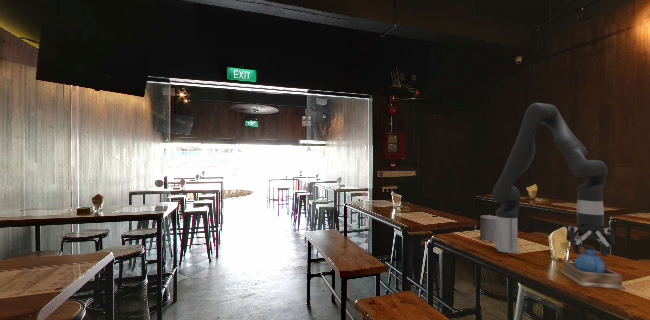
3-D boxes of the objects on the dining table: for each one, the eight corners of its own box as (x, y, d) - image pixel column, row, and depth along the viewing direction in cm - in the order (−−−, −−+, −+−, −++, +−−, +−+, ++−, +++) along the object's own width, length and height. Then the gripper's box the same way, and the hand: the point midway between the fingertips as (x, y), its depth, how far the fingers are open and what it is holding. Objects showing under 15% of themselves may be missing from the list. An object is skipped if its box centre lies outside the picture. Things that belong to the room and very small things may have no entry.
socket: (581, 285, 103) (581, 272, 103) (560, 271, 115) (560, 260, 115) (624, 289, 100) (624, 276, 100) (598, 275, 112) (598, 263, 112)
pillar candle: (476, 238, 167) (476, 213, 167) (491, 237, 168) (491, 212, 168) (487, 243, 157) (487, 216, 157) (503, 242, 158) (503, 216, 158)
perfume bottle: (597, 281, 103) (596, 248, 103) (575, 275, 109) (575, 244, 109) (604, 278, 106) (603, 246, 106) (583, 272, 112) (582, 242, 112)
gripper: (574, 213, 106) (574, 256, 106) (620, 214, 102) (620, 259, 102) (562, 209, 113) (562, 250, 113) (605, 211, 110) (605, 253, 109)
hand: (590, 254), depth 108 cm, fingers open, 8 cm apart
